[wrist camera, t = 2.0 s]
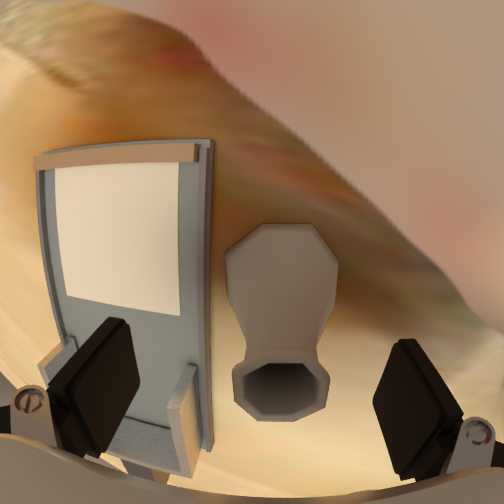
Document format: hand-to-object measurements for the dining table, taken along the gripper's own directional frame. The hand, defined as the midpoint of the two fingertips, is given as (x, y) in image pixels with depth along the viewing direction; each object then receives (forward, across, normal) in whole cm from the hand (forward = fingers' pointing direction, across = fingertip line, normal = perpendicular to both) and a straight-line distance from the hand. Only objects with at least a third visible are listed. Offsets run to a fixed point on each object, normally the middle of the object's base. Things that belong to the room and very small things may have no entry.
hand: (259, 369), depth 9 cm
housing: (+8, +10, +16) cm, 20 cm away
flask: (+9, -1, 0) cm, 9 cm away
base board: (+9, +10, +5) cm, 15 cm away
